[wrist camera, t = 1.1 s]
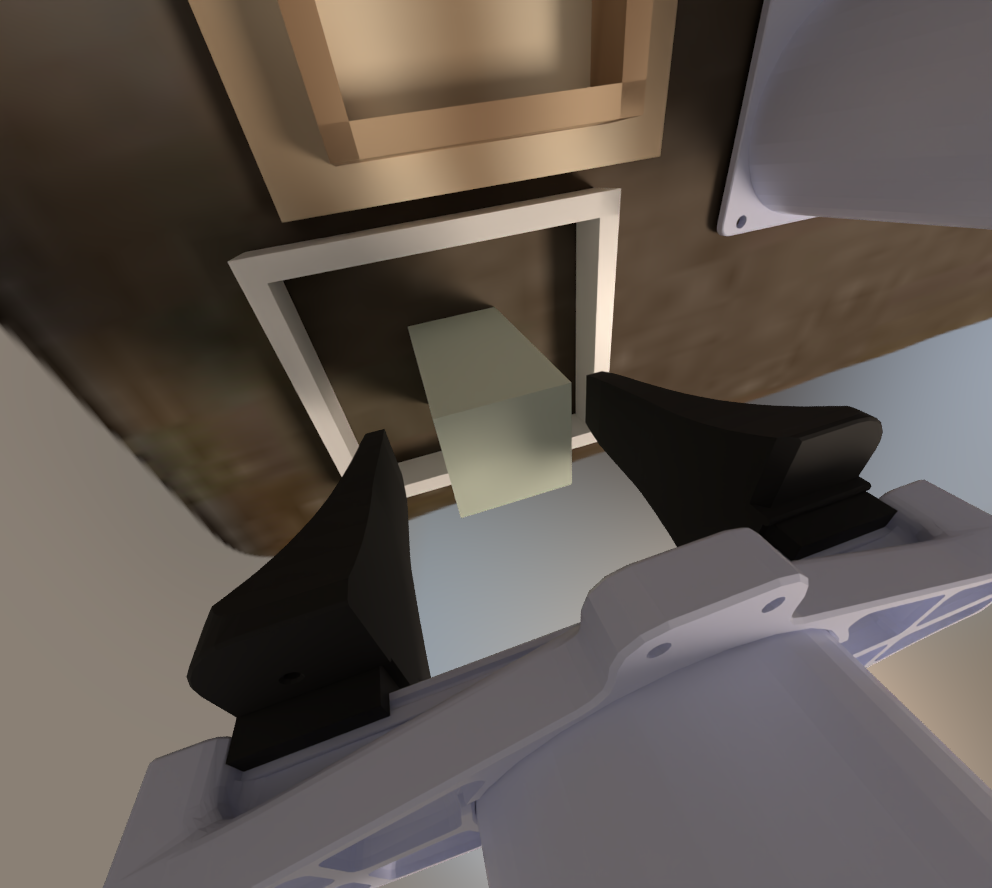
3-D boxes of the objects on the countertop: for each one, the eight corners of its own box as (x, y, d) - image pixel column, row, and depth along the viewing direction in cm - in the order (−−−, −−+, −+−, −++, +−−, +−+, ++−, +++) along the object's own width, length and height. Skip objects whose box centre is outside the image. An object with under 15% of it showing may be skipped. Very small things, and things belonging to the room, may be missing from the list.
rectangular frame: (594, 187, 15) (621, 188, 13) (587, 421, 22) (604, 439, 20) (244, 252, 13) (227, 261, 11) (360, 485, 20) (360, 511, 18)
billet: (494, 307, 17) (571, 382, 10) (504, 384, 19) (571, 484, 13) (407, 326, 16) (432, 419, 10) (429, 404, 18) (461, 518, 12)
